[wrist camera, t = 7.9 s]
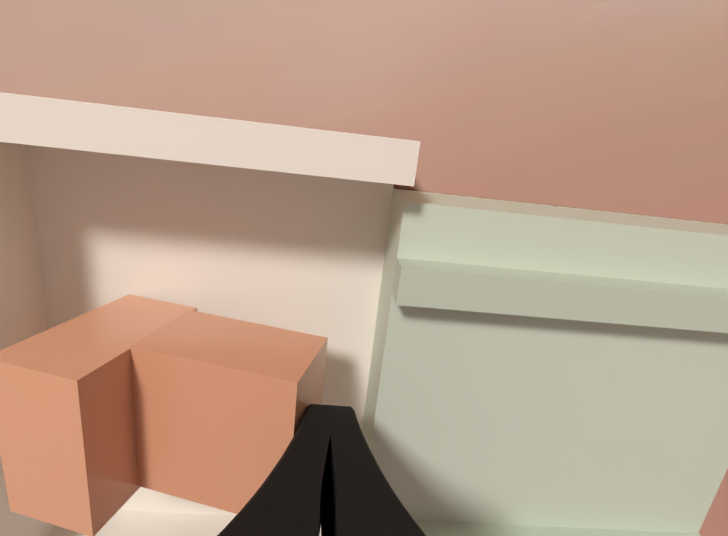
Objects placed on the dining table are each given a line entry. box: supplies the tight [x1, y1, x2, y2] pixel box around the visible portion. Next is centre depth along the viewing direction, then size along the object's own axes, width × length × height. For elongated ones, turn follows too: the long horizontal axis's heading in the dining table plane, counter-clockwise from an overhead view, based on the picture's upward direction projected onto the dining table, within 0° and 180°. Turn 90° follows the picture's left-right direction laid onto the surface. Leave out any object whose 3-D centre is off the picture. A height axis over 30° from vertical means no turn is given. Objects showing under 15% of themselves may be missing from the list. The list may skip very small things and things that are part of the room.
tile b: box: [0, 294, 197, 536], centre depth 12 cm, size 4×4×2 cm
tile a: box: [130, 310, 328, 514], centre depth 12 cm, size 4×4×2 cm
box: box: [0, 92, 420, 536], centre depth 13 cm, size 12×16×4 cm
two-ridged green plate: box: [362, 189, 728, 536], centre depth 14 cm, size 12×13×4 cm
